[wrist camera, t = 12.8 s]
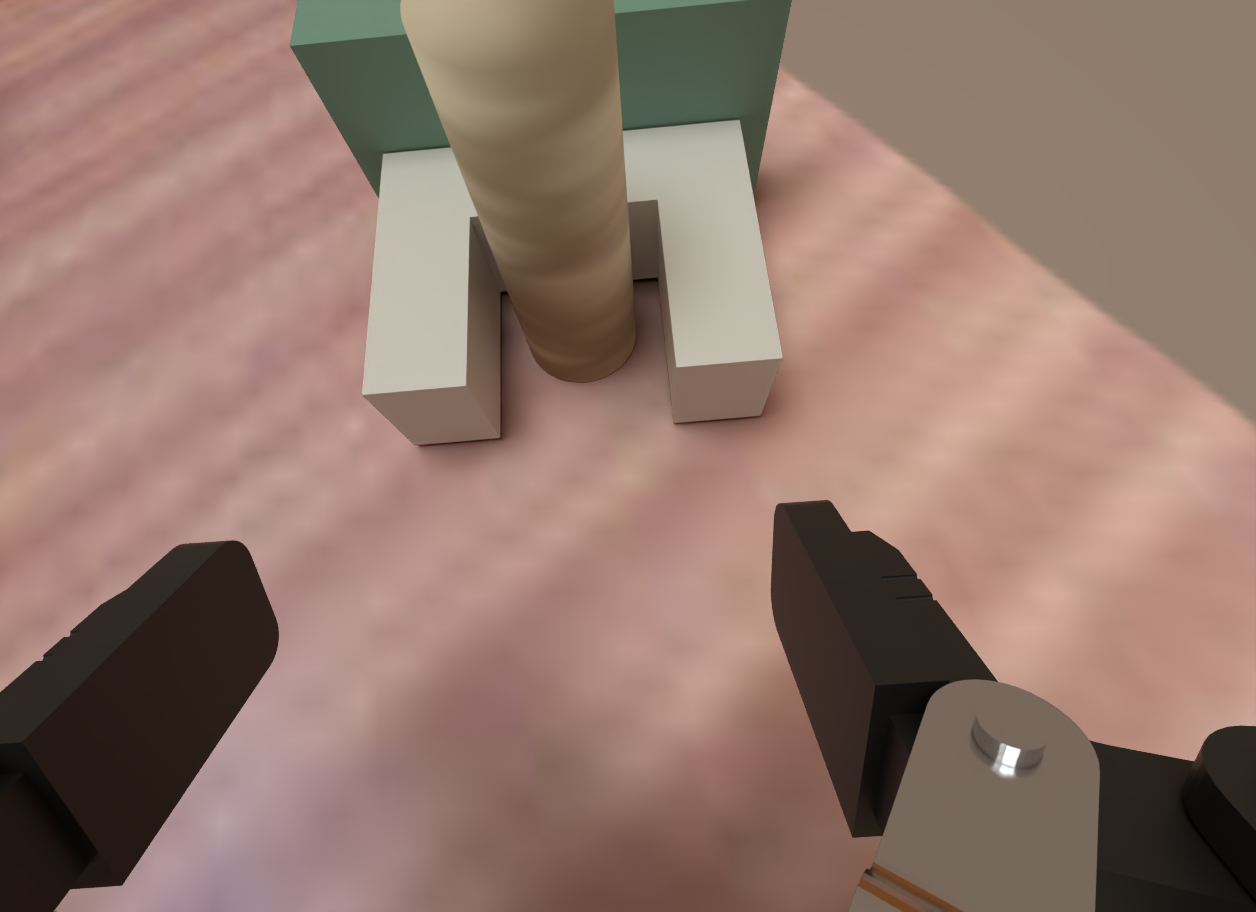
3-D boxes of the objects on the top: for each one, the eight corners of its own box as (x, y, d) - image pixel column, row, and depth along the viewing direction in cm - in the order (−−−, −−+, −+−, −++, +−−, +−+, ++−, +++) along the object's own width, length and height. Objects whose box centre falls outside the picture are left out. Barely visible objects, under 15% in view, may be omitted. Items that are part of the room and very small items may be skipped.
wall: (751, 207, 24) (792, -5, 17) (402, 239, 25) (289, 45, 17) (744, 167, 25) (781, -52, 18) (405, 199, 25) (298, -3, 18)
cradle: (760, 415, 21) (782, 358, 17) (414, 445, 21) (362, 394, 18) (727, 207, 24) (739, 119, 20) (425, 234, 24) (383, 153, 21)
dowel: (517, 373, 22) (370, 60, 11) (543, 282, 24) (436, -82, 12) (624, 390, 22) (587, 81, 11) (645, 295, 23) (631, -68, 12)
